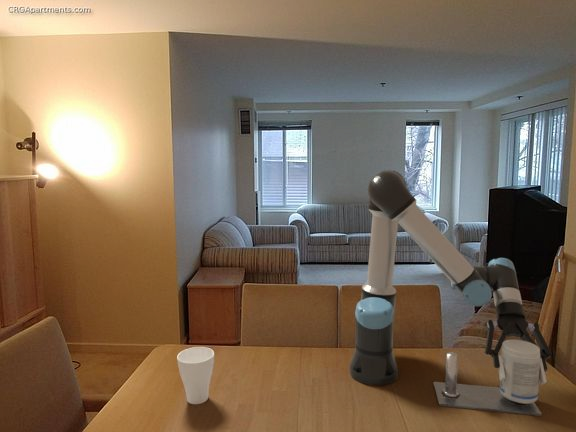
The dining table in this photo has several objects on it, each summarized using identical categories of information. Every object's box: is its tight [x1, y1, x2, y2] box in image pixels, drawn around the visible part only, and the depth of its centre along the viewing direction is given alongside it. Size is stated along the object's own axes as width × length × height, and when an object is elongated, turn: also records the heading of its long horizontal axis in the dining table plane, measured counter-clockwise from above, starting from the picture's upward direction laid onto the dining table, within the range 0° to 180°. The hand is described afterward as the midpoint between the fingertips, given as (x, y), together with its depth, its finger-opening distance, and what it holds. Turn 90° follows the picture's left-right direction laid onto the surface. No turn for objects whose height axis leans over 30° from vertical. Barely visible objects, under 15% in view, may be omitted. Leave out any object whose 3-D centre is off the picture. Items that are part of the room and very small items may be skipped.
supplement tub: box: [499, 338, 540, 404], centre depth 118 cm, size 10×10×15 cm
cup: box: [176, 346, 215, 405], centre depth 122 cm, size 10×10×14 cm
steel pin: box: [443, 351, 459, 398], centre depth 122 cm, size 4×4×12 cm
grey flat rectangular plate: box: [433, 381, 543, 417], centre depth 121 cm, size 26×12×1 cm, turn 78°
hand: (523, 381), depth 115 cm, fingers closed on supplement tub, 9 cm apart
